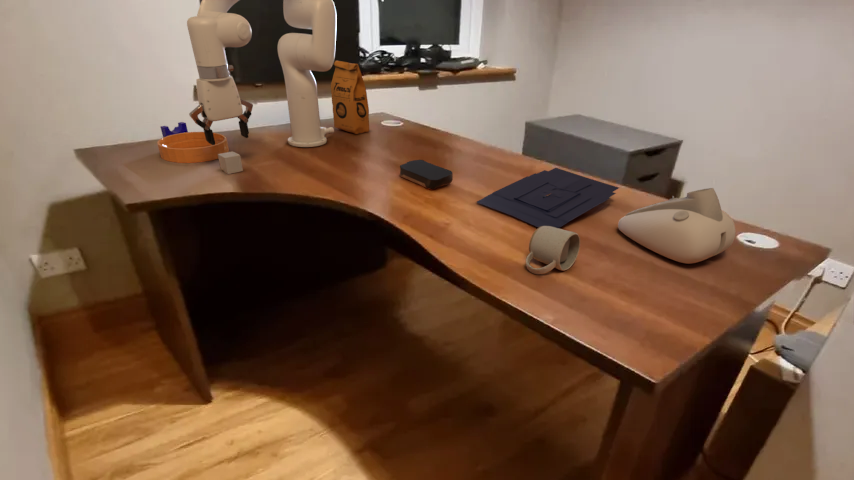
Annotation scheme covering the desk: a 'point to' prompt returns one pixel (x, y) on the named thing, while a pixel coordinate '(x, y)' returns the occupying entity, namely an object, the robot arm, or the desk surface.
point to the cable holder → (180, 129)
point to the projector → (682, 227)
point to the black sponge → (426, 174)
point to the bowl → (191, 147)
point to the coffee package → (349, 98)
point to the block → (230, 162)
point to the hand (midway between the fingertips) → (228, 140)
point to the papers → (549, 197)
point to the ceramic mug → (553, 249)
